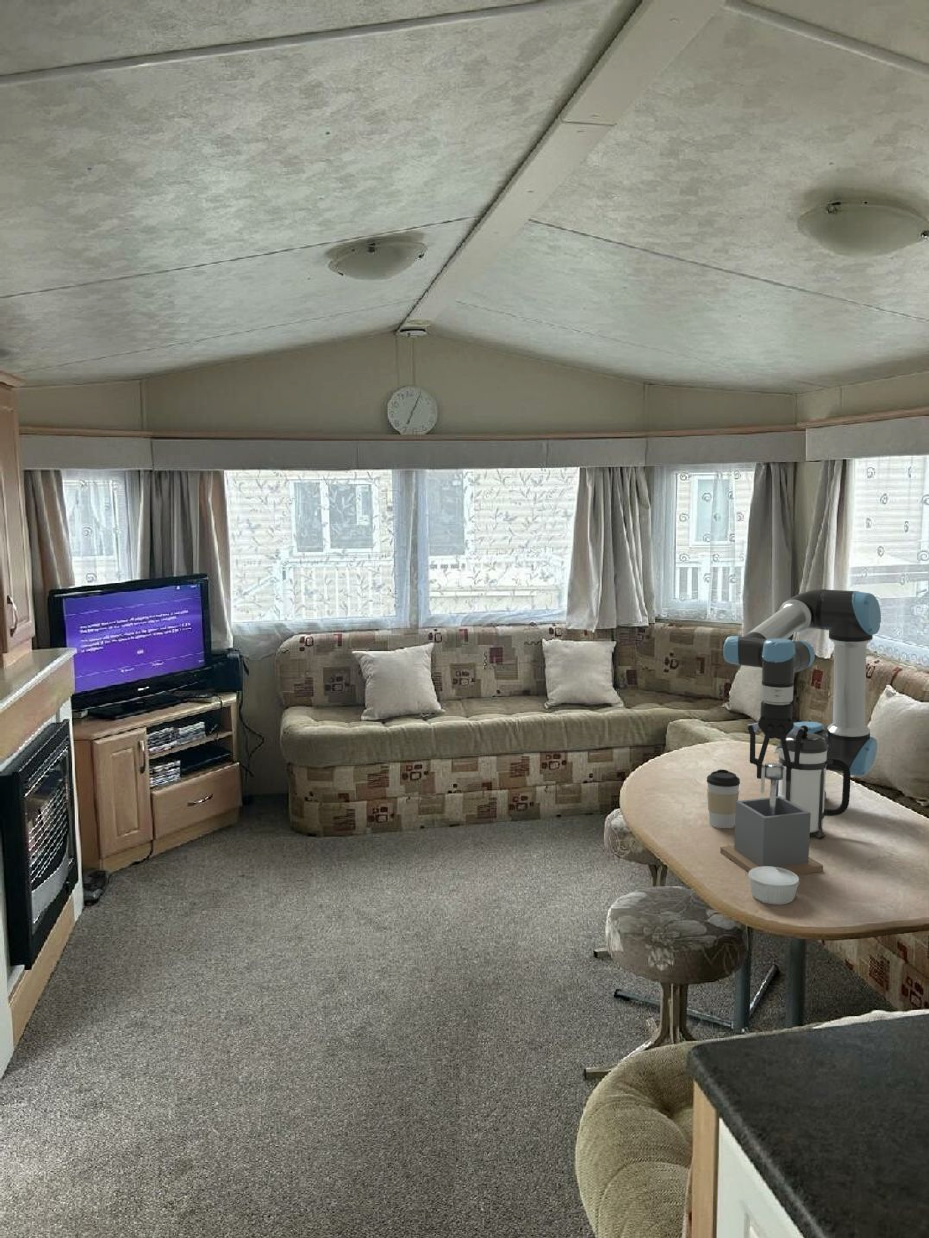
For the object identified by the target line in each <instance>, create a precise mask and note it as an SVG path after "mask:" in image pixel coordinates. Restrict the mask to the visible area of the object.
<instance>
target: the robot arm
mask: <svg viewBox="0 0 929 1238" xmlns="http://www.w3.org/2000/svg"><path fill="white" fill-rule="evenodd" d="M881 612H882V611H881V607H880V603H879V600H878V599H877V597H876V596H875V595H874V594H872V593H870V592H864V591H859V590H843V589H842V590H841V589H826V588H818V589H817V588H816V589H811V590H807V591H804V592H801V593H798V594H797V595H794V596H792V597H790V598H789V599H787V600H785V601H784V602H783V603H782V604H781V605H780V606H779V609H778V611H777V612H775V613H773V614H772V615H770V617H768V618H767V619H765V620H764V621H763V622H761V623H760V624H758V625H757V626H756V627H754V628H752V630H751V631H749V632H747V633H746V634H744V635H743V636H742V635H741V636H740V635H730V636H728V637H727V638H726V639H725V641H724V643H723V646H722V647H723V648H722V653H723V655H722V657H723V658H724V660H725V662H726V663H727V664H731V665H737V666H744V667H751V668H758V669H759V668H760V669H761V688H760V689H761V690H760V693H761V694H760V699H761V702H760V712H759V713H760V716H759V719H758V722H754V723H752V722H750V723H748V725H747V730H748V732H749V763H750V764H751V765H755V766H756V779H758V780H759V779H760V780H761V781H760V793H761V794H762V793H763V794H764V793H765V781H766V780H765V779H766V778H765V764H764V759H765V756H766V753H767V749H768V745H769V742H770V739H778V740H779V741H780V740H781V744H782V749H783V754H784V759H785V764H786V767H785V766H783V783H782V795H785V790H786V781H790V780H791V769H792V768H795V767H796V768H797V767H799V758H800V743H801V737H802V735H803V733H804V728H803V727H801V726H803V725H805V726H807V727H808V729H809V730H808V733H813V734H817V735H819V736H821V737H823V738H824V739H825V741H826V743H827V744H828V746H829V748H828V751H827V757H826V758H828V759H833V758H837V759H840V760H842V761H844V762H845V763H846V765H847V766H848V768H849V770H850V776H856V777H858V776H859V777H864V776H866V775H868V773H870V771H871V769H872V768H873V766H874V764H875V763H874V762H875V760H876V757H877V753H878V741H877V739H876V738H875V737H873V736H871V729H870V727H868V725H866V722H865V720H866V719H865V718H866V689H867V688H866V685H867V684H866V682H867V681H866V680H867V678H866V677H867V645H868V644H869V643H870V642H871V641H873V635H876V634H878V632H879V631H880V628H881V622H882V614H881ZM808 629H812V630H813V629H814V630H817V629H818V630H823V631H828V639H829V640H830V642H832V643H833V644H834V645H833V646H834V647H833V649H834V650H833V695H832V696H833V706H832V723H830V724H829V725H828V726H827V728H826V729H824V728H825V727H824V725H823V724H822V723H820V722H817V721H798V722H794V721H793V705H794V704H793V703H792V702H793V700H794V680H795V673H796V674H797V673H799V672H802V671H806V670H807V668H809V667H811V665H813V663H814V661H815V657H816V653H815V649H814V647H813V646H812V645H811V644H810V643H809V642H808V641H805V640H801V639H800V640H792V639H789V638H791V636H792V635H794V634H795V633H800V632H803V631H805V630H808ZM758 729H760V730H761V732H762V733H763V734H764V736H763V737H764V738H763V742H762V745H761V747H760V752H759V754H758V758H756V733H757V732H758ZM792 732H794V735H796V739H795V755H794V761H793V762H791V760H790V755H789V750H788V745H787V739H786V736H787V735H788V733H792ZM826 771H828V772H836V773H840V774H843V771H842V769H841V767H839V766H837V765H833V764H827V767H826ZM778 787H779V780H777V781H776V797H778ZM826 801H827V792H826V790H825V799H824V803H826Z"/></svg>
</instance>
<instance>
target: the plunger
mask: <svg viewBox="0 0 929 1238" xmlns="http://www.w3.org/2000/svg"><path fill="white" fill-rule="evenodd" d="M764 765H765V779H767V780H769V781H770V783H769V784H770V789H769V797H770V810H769V816H774V815H775V806H776V782H777V780H782V779H783V765H782V764H779V762H766V763H764Z"/></svg>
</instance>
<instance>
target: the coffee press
mask: <svg viewBox="0 0 929 1238" xmlns="http://www.w3.org/2000/svg"><path fill="white" fill-rule="evenodd" d="M801 727H803V728H804V733H803V735H802V737H801V743H800V758H799V767H797V768H796V767H795V768H792V769H791V780H790V781H786V790H785V795H782V783H783V779H782V780H779V787H778V796H781V797H782V798H784V799H786V800H788V801H790V802H792V803H793V804H795V805H797V806H799V807H801V808H803V809H804V810H806V811H808V812H810V813H811V816H810V834H811V833H814V834H815V835H816V837H817V838H818V839H819V840H821V839H822V840H823V839H825V838H826V834H825V832H824V830H823V826H824V819H825V817H836V816H839V815H842V814H844V813H845V811H847V810H848V807H849V804H850V796H851V794H850V793H851V775H850V770H849V768H848V766H847V765H846V763H845V762H844V761H842V760H840V759H837V758H833V759H828V758H826V757H827V751H828V748H829V746H828V744H827V743H826V741H825V739H824V738H823V737H821V736H819V735H817V734H813V733H808V730H809V729H808V727H807V726H805V725H803V726H801ZM786 739H787V745H788V750H789V755H790V760H791V762H793V761H794V755H795V739H796V735H794V732H792V733H788V735H787V736H786ZM772 753H773V754H777V755H778V763H779V764H782V765H783V766H785V767H786V764H785V759H784V754H783V749H782V744H781V740H780V739H779V740H778V744H777V745H776V747H775V748H774V750H773V752H772ZM827 764H833V765H837V766H839V767H841V769H842V771H843V773H842V796H841V802H840V805H839V806H838V807H836V808H825V802H824V799H825V791H826V774H827V770H826V767H827Z"/></svg>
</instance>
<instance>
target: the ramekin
mask: <svg viewBox="0 0 929 1238" xmlns="http://www.w3.org/2000/svg"><path fill="white" fill-rule="evenodd" d="M747 873H748V872H747ZM747 875H748V876H747V877H748V880H749V886H750V892H751V894H752V896H753V898H755V899H756V900H758V901H759V902H761V903H764V904H767V905H768V904H769V905H787V904H789V903H791V902H792V901H794V899H795V897H796V893H797V890H798V886H799V884H800V878H799V875H796V874H795V873H793V872H791V871H789V870H786V869H783V868H778V867H771V866H762V867H756V868H753V869H751V870H750V871H749V873H748V874H747Z"/></svg>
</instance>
